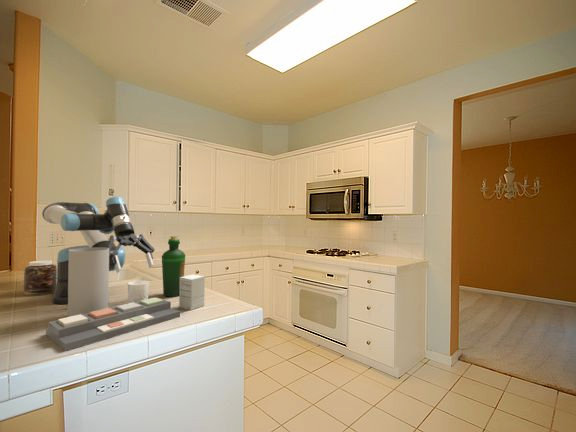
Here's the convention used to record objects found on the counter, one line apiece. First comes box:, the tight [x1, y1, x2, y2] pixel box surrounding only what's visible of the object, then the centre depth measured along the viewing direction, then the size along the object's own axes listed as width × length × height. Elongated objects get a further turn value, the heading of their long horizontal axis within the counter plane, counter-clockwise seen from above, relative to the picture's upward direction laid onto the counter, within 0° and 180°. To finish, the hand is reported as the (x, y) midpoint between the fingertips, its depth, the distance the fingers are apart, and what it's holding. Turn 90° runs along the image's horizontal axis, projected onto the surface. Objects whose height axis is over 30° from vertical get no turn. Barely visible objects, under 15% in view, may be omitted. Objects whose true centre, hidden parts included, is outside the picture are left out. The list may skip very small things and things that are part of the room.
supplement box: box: [178, 274, 205, 311], centre depth 121 cm, size 7×7×13 cm
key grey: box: [115, 302, 141, 313], centre depth 105 cm, size 6×6×2 cm
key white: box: [57, 314, 88, 327], centre depth 91 cm, size 6×6×2 cm
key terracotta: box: [89, 307, 116, 319], centre depth 98 cm, size 6×6×2 cm
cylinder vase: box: [67, 248, 110, 317], centre depth 108 cm, size 12×12×25 cm
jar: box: [23, 259, 57, 297], centre depth 138 cm, size 12×12×15 cm
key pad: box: [45, 297, 181, 352], centre depth 100 cm, size 18×36×4 cm, turn 144°
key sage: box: [140, 297, 164, 307], centre depth 111 cm, size 6×6×2 cm
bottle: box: [161, 235, 186, 298], centre depth 138 cm, size 11×11×28 cm
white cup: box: [127, 279, 150, 303], centre depth 120 cm, size 8×8×10 cm
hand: (136, 268), depth 122 cm, fingers open, 13 cm apart
